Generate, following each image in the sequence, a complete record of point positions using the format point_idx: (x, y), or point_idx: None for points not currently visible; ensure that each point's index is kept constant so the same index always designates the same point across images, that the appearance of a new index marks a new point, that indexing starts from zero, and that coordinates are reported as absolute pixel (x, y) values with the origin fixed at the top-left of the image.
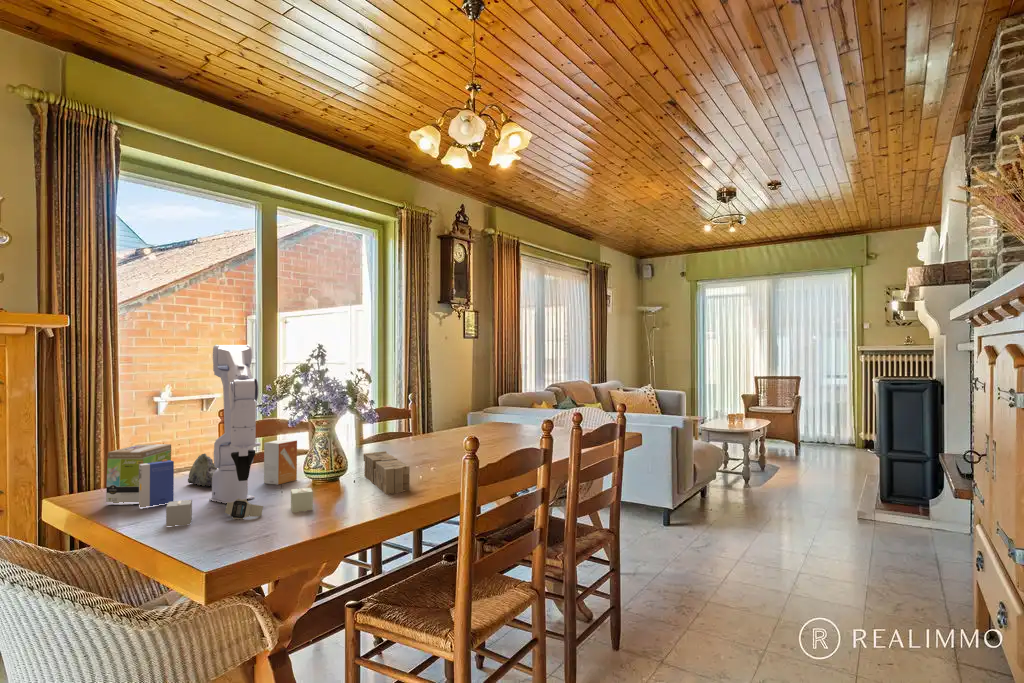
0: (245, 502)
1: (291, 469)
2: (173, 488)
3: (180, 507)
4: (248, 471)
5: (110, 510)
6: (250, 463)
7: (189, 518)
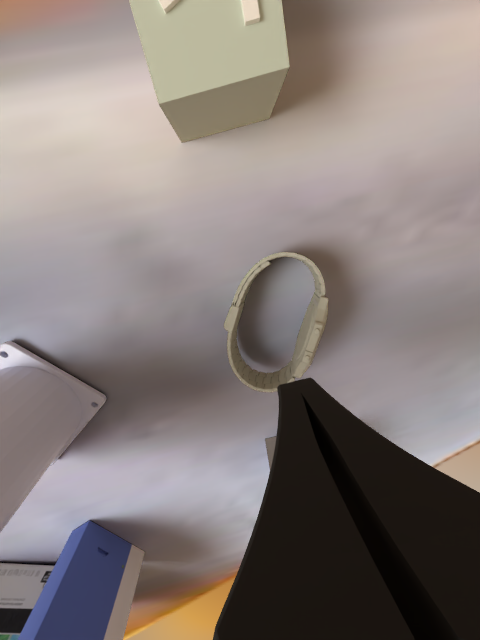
0: (324, 323)
1: None
2: (65, 573)
3: None
4: (348, 415)
5: (145, 588)
6: (430, 469)
7: None
